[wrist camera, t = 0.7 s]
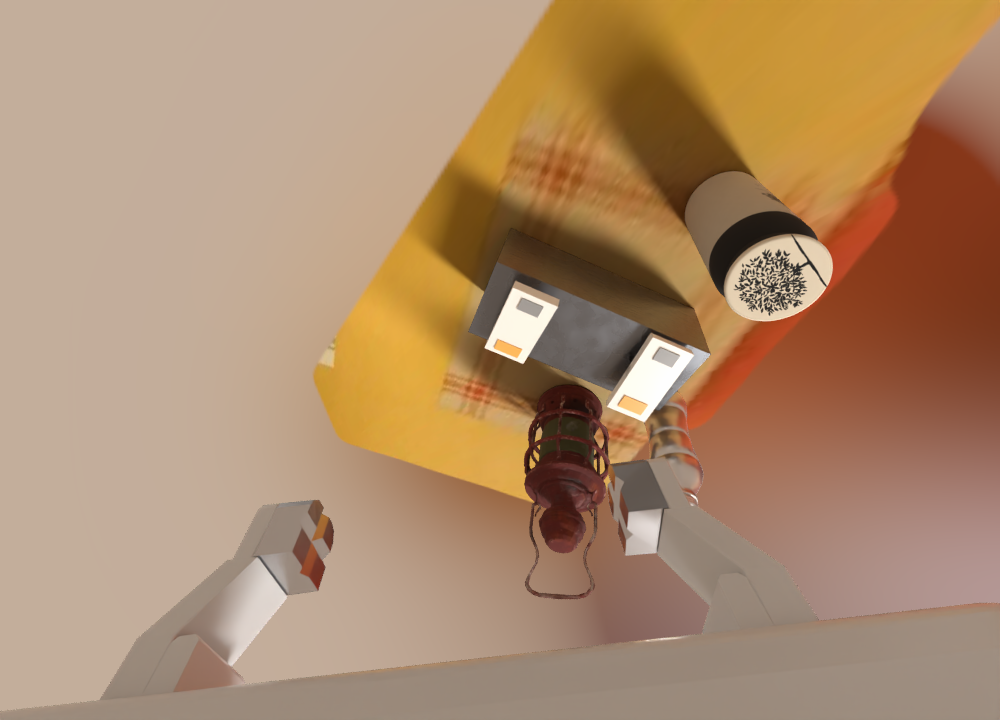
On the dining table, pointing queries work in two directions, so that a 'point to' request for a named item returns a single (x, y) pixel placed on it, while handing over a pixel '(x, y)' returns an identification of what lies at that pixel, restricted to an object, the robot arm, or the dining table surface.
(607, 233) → the dining table surface
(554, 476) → the lantern
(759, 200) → the travel mug
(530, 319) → the rocker on
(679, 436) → the silver tall rounded piece
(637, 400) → the block
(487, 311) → the switch box
